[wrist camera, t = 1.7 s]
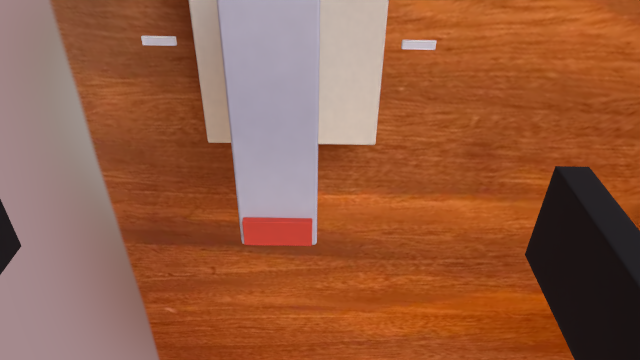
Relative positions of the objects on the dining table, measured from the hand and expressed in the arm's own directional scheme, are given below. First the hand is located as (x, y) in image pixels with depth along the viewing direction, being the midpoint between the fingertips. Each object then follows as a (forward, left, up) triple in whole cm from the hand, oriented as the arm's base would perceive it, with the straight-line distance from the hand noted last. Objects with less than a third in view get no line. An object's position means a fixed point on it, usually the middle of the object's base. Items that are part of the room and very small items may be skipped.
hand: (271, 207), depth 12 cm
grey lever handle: (0, 0, -11) cm, 11 cm away
